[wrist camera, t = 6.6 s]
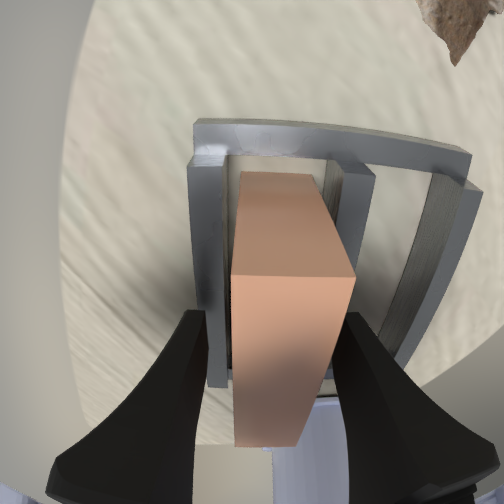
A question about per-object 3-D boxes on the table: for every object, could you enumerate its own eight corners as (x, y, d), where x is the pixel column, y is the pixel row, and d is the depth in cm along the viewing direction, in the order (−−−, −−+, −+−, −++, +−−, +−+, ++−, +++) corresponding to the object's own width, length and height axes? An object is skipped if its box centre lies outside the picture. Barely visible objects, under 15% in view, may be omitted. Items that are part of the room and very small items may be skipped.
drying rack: (380, 361, 17) (389, 391, 15) (212, 364, 17) (209, 396, 15) (458, 147, 10) (490, 166, 8) (198, 118, 10) (185, 132, 8)
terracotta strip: (287, 341, 16) (296, 446, 11) (239, 340, 16) (235, 446, 11) (310, 173, 11) (356, 277, 6) (241, 170, 11) (230, 274, 6)
